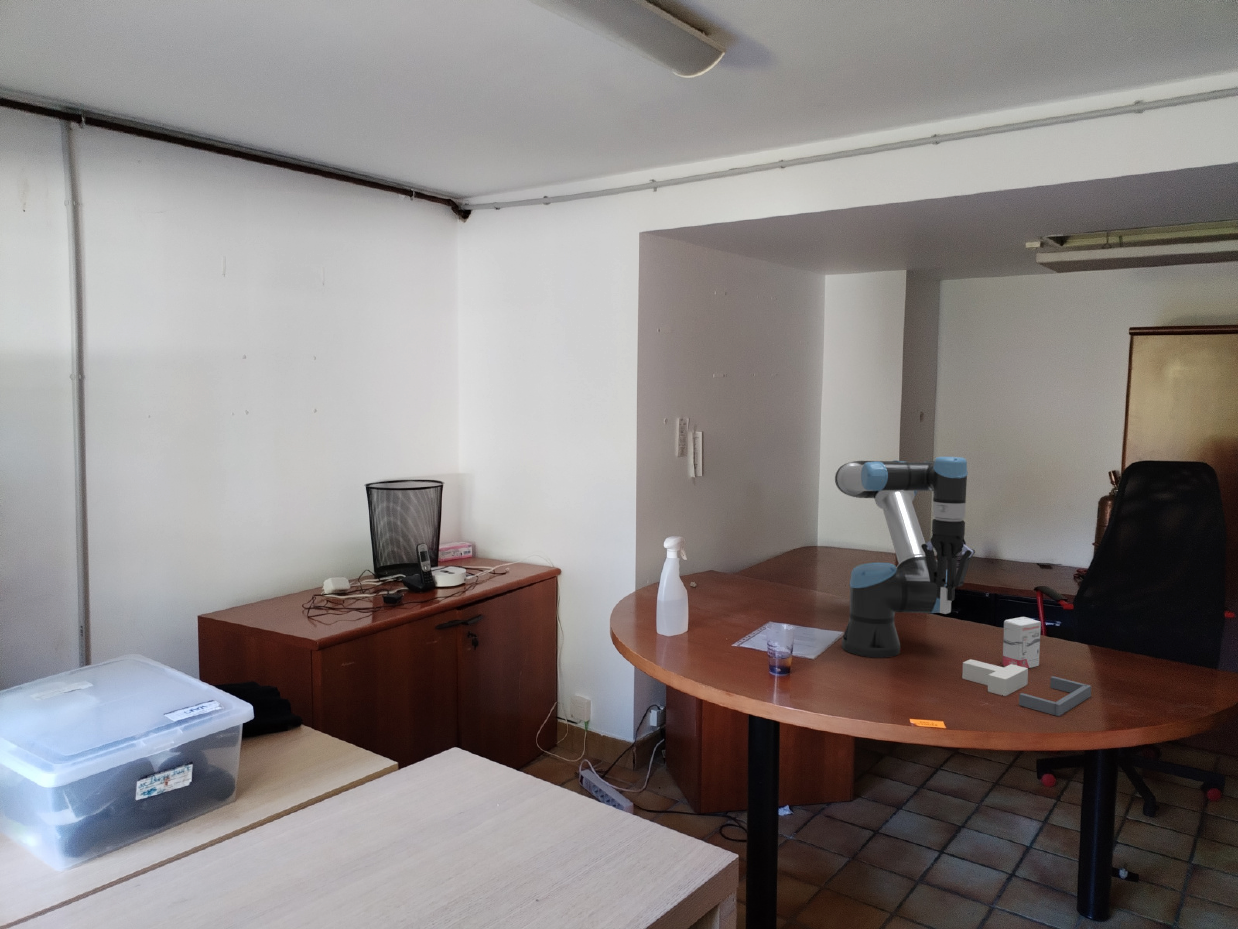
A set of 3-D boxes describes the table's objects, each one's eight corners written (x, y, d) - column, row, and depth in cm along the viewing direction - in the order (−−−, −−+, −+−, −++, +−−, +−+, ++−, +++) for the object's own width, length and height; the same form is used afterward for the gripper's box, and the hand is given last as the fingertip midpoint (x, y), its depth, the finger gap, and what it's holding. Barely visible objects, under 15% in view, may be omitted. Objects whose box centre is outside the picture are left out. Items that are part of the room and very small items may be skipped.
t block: (954, 682, 190) (955, 666, 189) (977, 671, 198) (978, 656, 197) (1005, 696, 181) (1005, 679, 180) (1027, 684, 188) (1028, 668, 188)
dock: (1018, 705, 175) (1019, 694, 175) (1052, 686, 187) (1052, 676, 187) (1058, 716, 169) (1059, 705, 169) (1090, 696, 181) (1091, 685, 181)
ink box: (1018, 671, 198) (1020, 625, 197) (1000, 665, 202) (1002, 620, 201) (1039, 666, 202) (1042, 620, 201) (1022, 660, 206) (1024, 616, 205)
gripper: (916, 517, 198) (913, 609, 199) (967, 523, 188) (963, 620, 190) (931, 515, 203) (928, 605, 204) (981, 520, 193) (978, 615, 194)
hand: (945, 612), depth 197 cm, fingers closed
